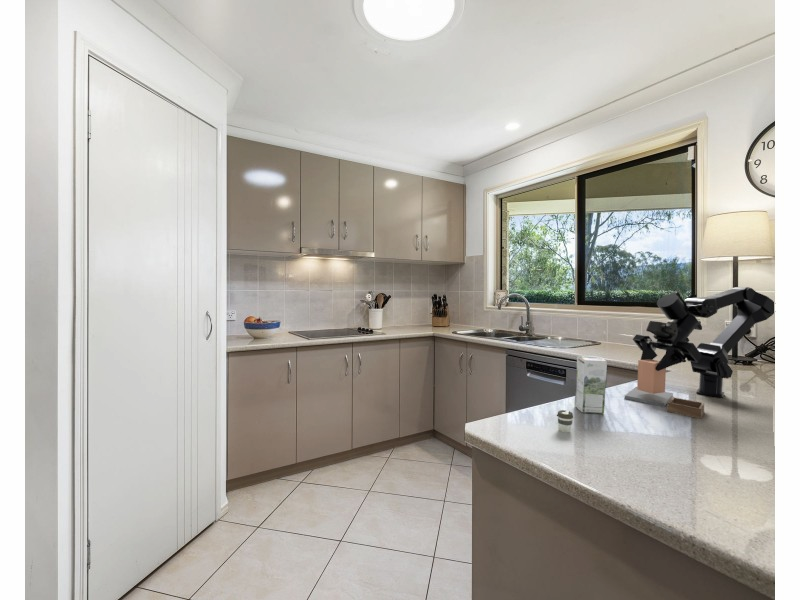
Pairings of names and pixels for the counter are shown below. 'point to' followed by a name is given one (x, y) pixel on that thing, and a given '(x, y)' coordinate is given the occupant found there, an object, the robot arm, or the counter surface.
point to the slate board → (649, 397)
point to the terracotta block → (650, 377)
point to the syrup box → (590, 384)
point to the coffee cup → (564, 420)
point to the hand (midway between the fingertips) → (648, 367)
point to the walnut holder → (686, 407)
